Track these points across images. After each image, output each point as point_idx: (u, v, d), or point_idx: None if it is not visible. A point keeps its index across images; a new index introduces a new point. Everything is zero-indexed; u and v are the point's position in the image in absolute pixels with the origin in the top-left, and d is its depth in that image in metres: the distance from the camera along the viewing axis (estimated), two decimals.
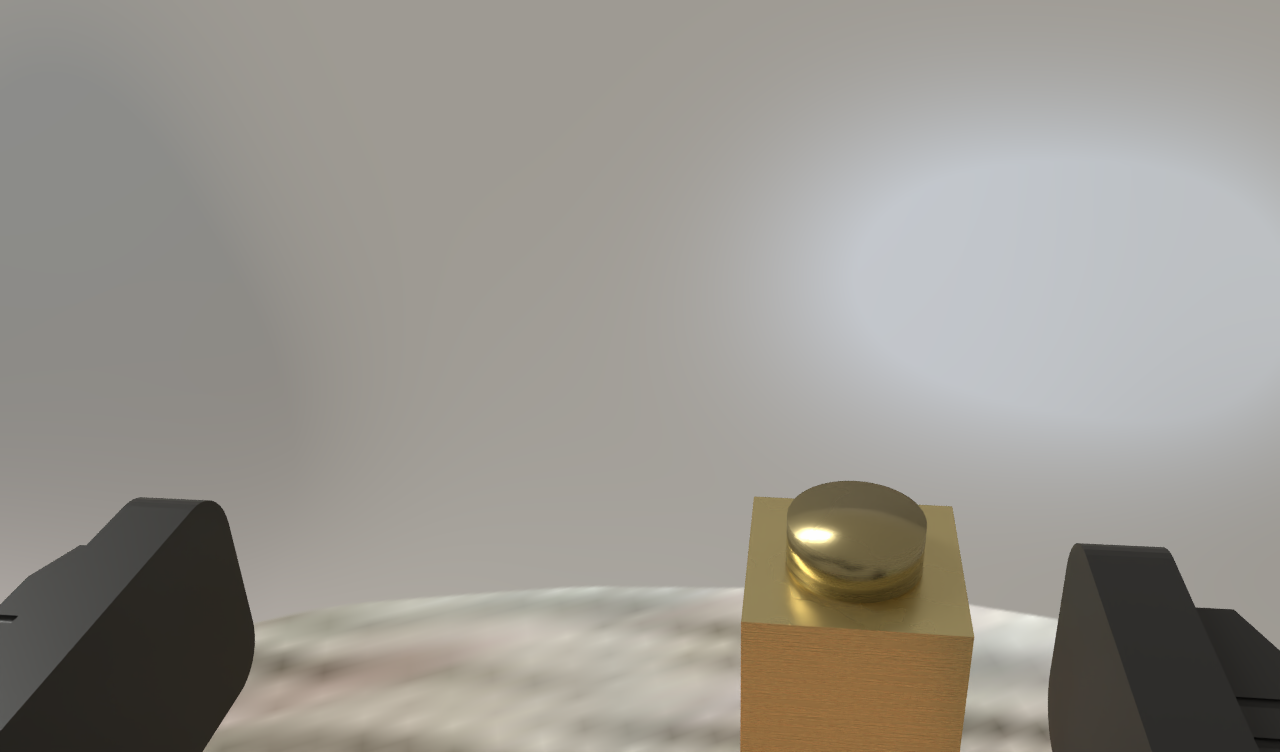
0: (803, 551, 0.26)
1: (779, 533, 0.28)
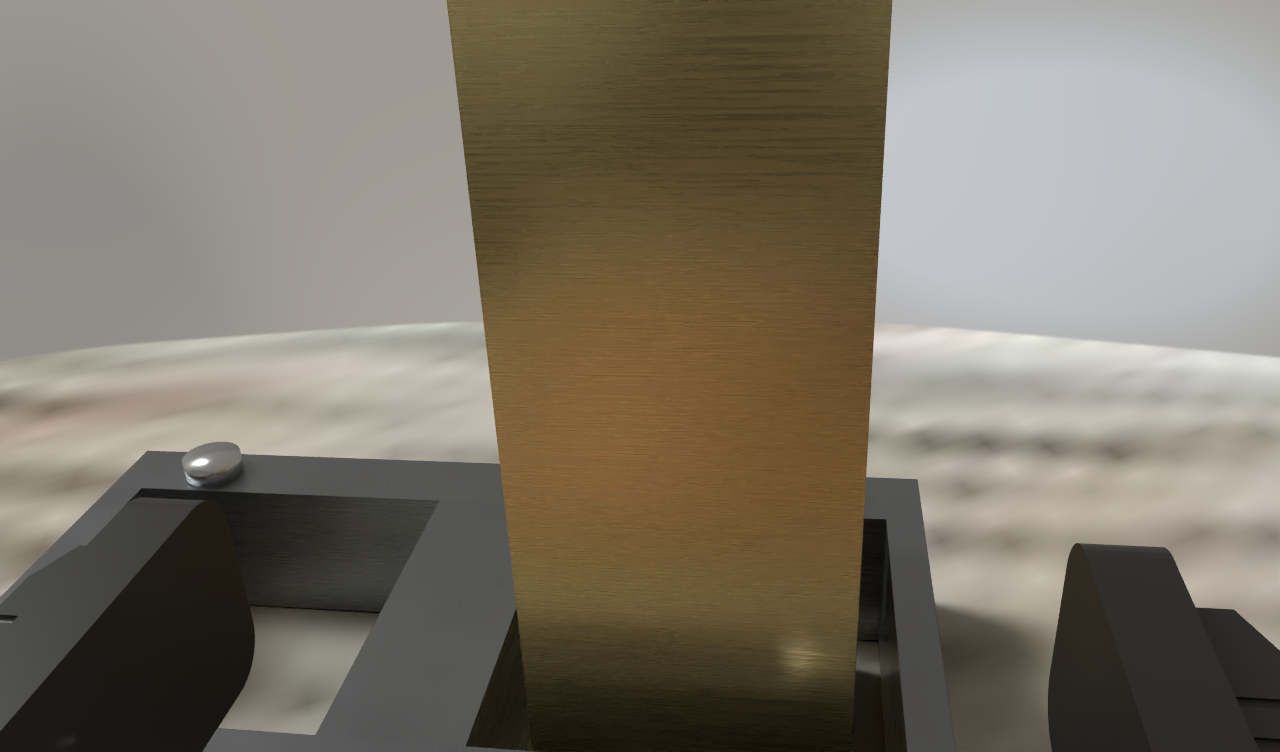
0: None
1: None
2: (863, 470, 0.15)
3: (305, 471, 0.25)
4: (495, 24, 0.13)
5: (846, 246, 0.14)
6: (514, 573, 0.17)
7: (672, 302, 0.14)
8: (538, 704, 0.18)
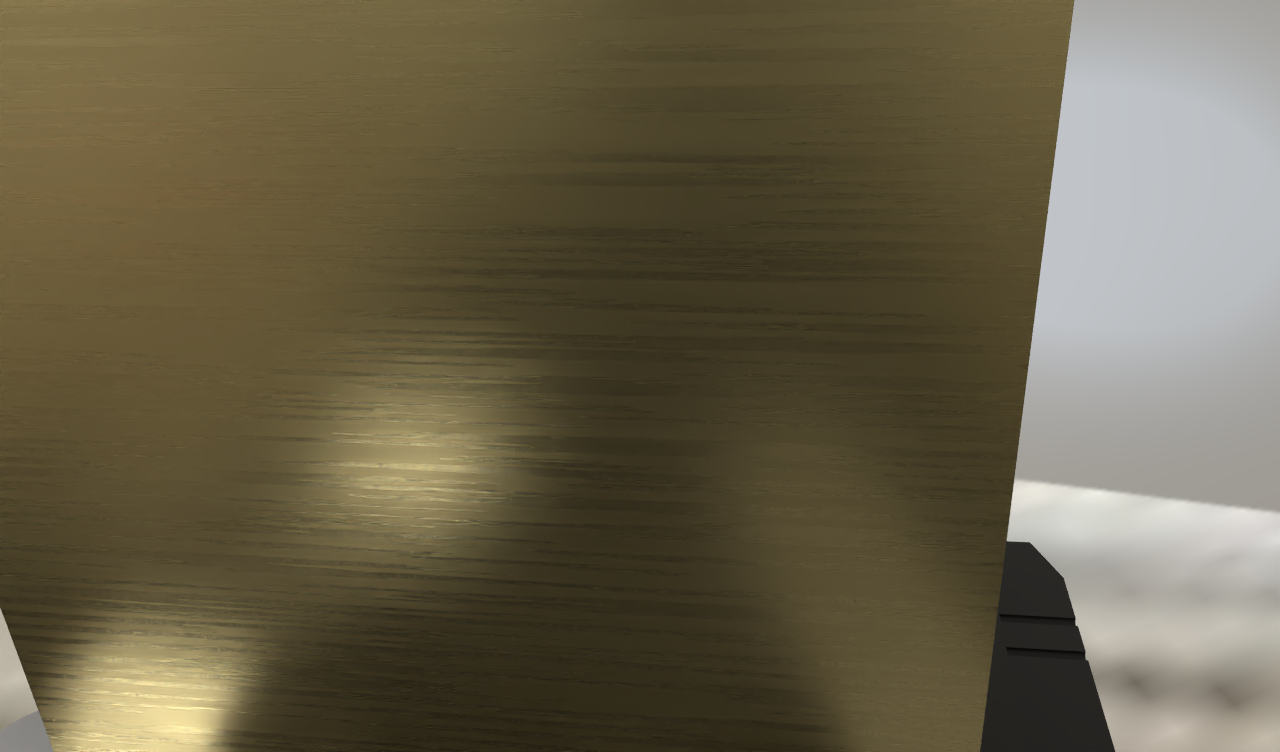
0: None
1: None
2: None
3: None
4: (22, 383, 0.05)
5: None
6: None
7: None
8: None
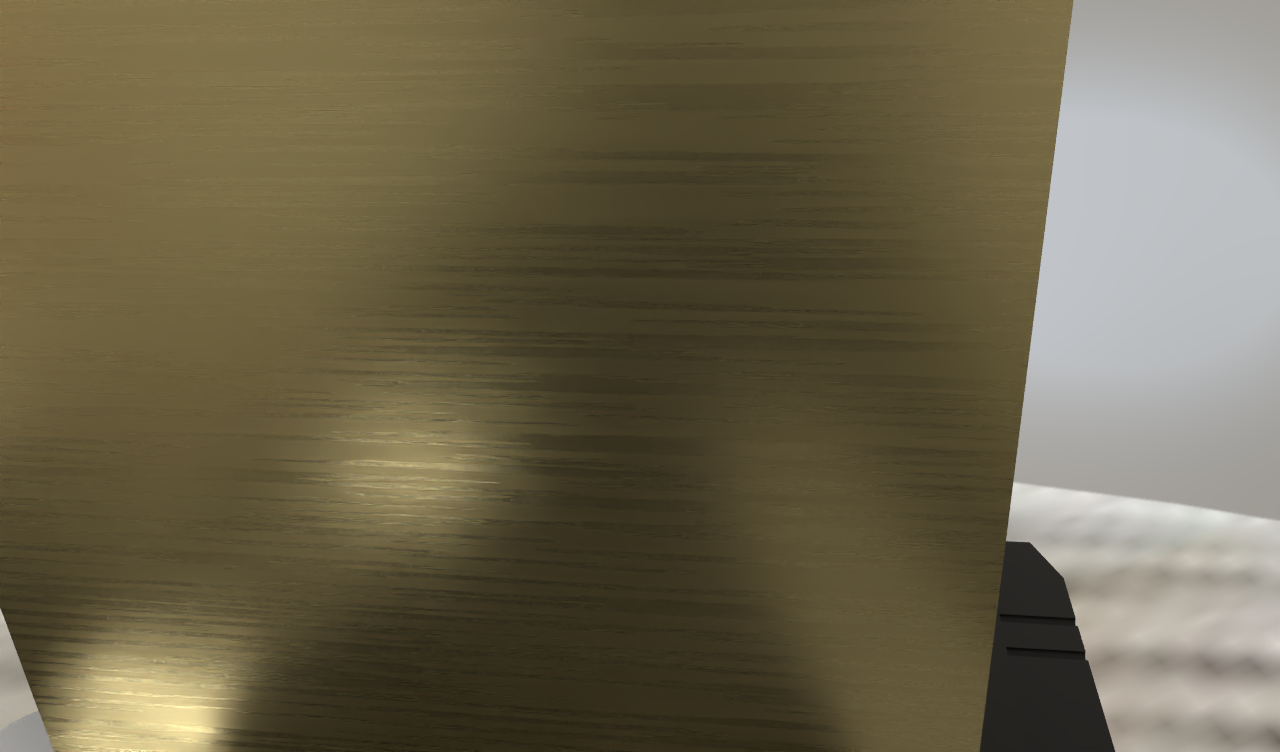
0: None
1: None
2: None
3: None
4: (21, 381, 0.05)
5: None
6: None
7: None
8: None
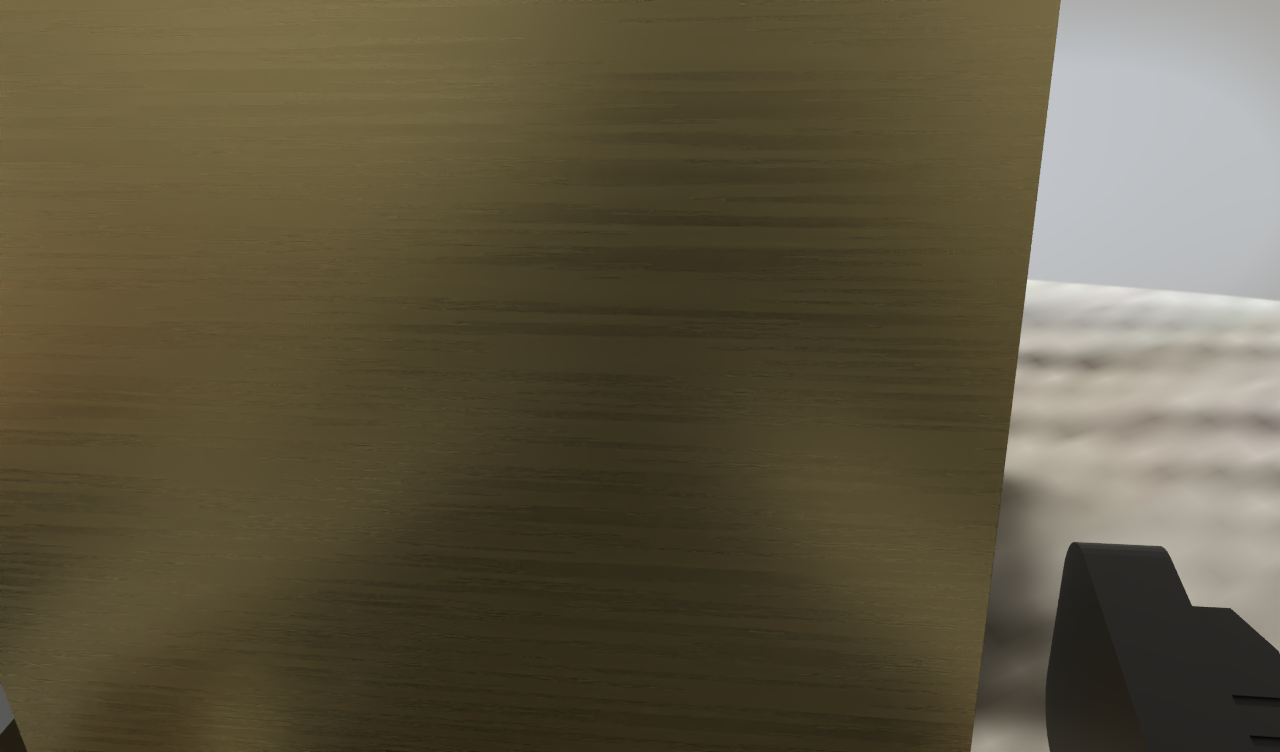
0: None
1: None
2: None
3: None
4: (32, 502, 0.05)
5: None
6: None
7: None
8: None
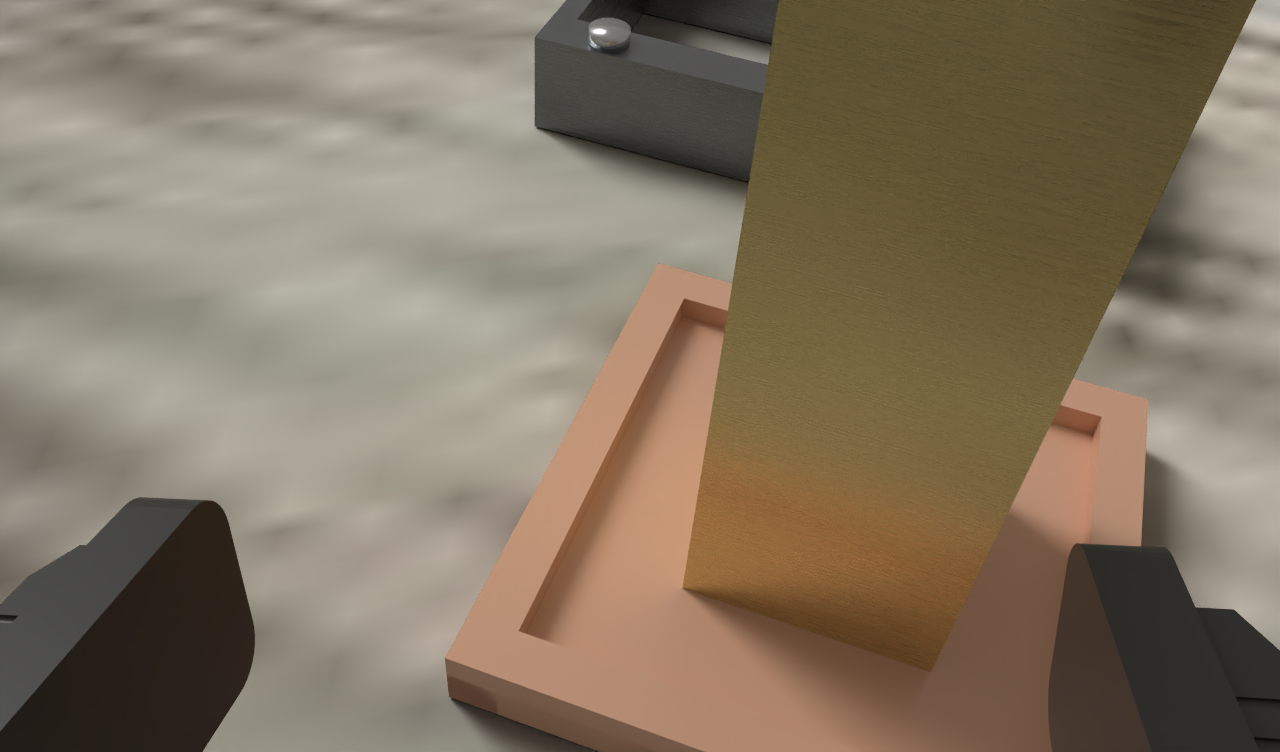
0: None
1: None
2: (1062, 394, 0.16)
3: None
4: None
5: (1118, 212, 0.14)
6: (715, 390, 0.19)
7: (932, 217, 0.15)
8: (708, 490, 0.20)
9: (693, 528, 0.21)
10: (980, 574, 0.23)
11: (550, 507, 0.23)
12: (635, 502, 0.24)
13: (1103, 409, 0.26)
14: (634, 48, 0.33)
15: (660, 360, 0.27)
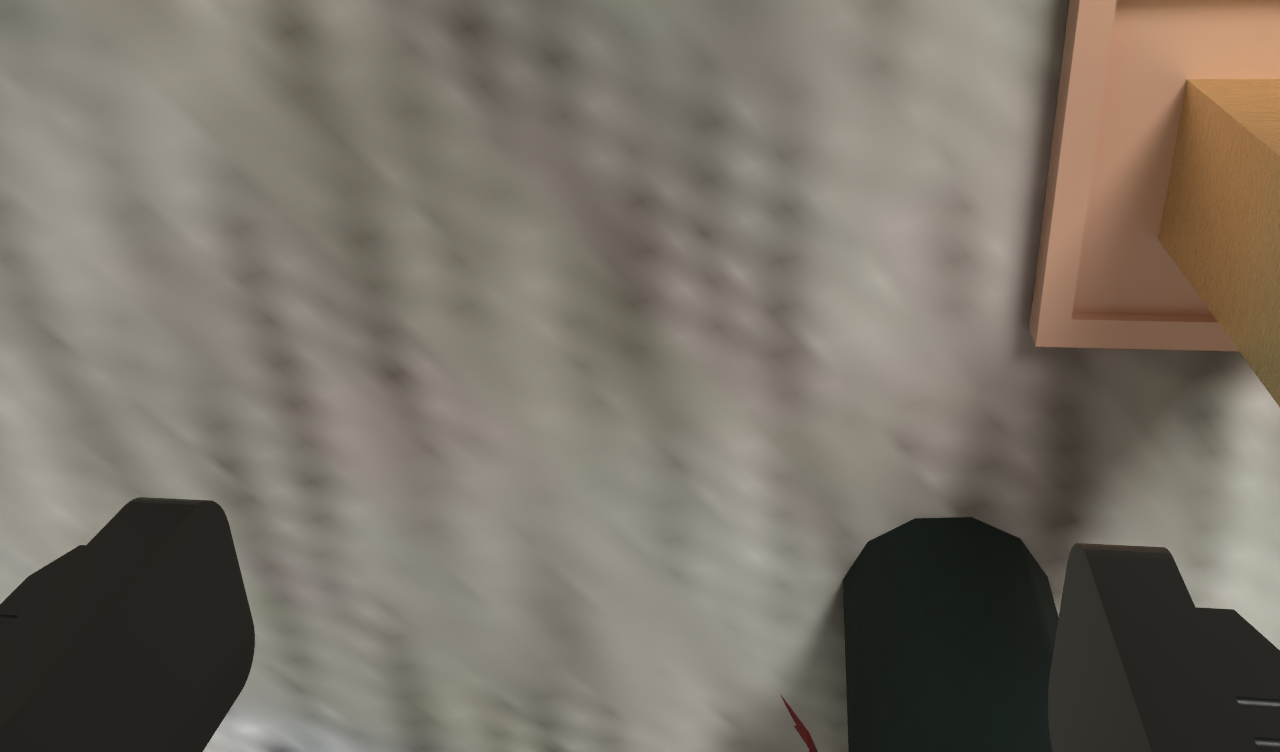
0: None
1: None
2: (1235, 344, 0.29)
3: None
4: None
5: None
6: (1252, 131, 0.29)
7: None
8: (1218, 112, 0.31)
9: (1206, 96, 0.32)
10: None
11: None
12: (1258, 22, 0.33)
13: None
14: None
15: None
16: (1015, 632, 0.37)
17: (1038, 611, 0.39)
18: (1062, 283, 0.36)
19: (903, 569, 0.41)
